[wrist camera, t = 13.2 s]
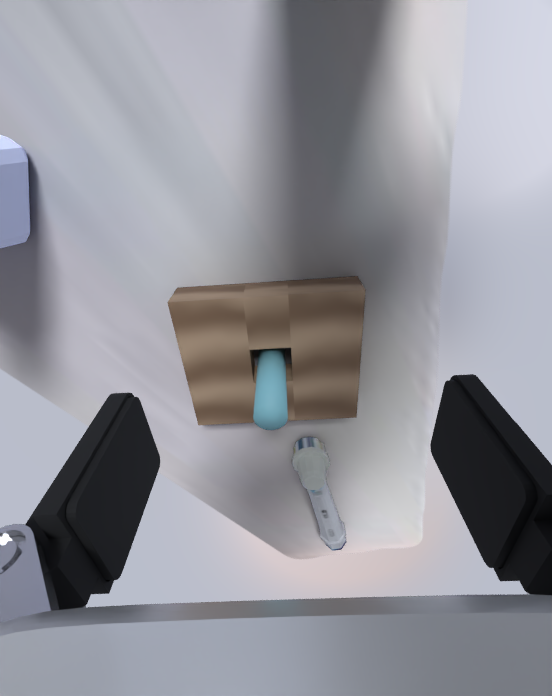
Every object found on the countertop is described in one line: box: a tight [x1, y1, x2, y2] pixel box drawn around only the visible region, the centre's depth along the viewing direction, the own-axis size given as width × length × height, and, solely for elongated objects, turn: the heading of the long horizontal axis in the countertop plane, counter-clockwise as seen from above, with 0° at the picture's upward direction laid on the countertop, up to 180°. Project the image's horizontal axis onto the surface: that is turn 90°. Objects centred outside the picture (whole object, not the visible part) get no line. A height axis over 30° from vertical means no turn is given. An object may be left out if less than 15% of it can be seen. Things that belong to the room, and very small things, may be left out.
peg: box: [253, 348, 288, 430], centre depth 37 cm, size 3×3×12 cm
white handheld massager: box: [292, 437, 346, 550], centre depth 55 cm, size 5×7×25 cm
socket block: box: [168, 276, 365, 425], centre depth 41 cm, size 17×20×4 cm
